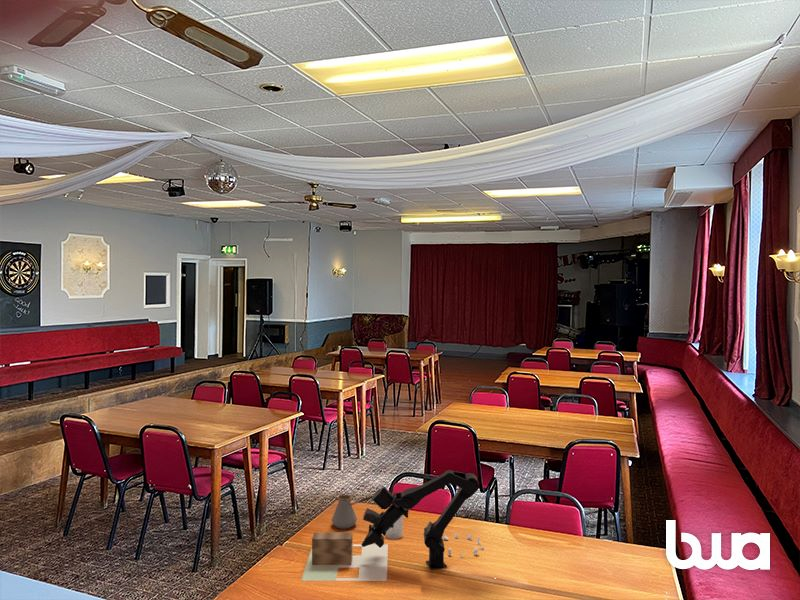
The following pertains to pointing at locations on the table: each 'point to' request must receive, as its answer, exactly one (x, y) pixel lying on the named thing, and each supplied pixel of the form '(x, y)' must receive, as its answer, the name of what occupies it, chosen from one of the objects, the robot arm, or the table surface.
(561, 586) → the table surface
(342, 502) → the coffee pot
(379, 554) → the trap board
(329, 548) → the brown wooden block
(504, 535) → the table surface
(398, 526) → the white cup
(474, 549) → the game piece set
